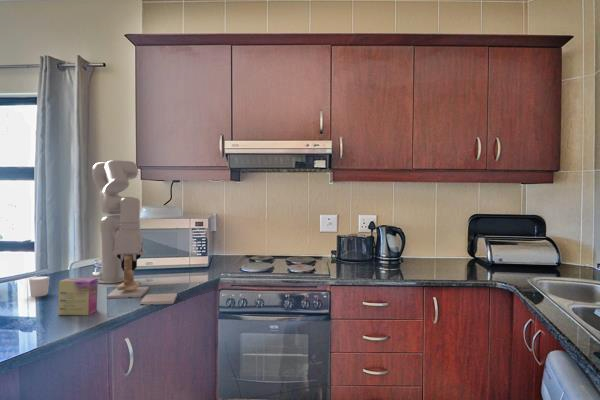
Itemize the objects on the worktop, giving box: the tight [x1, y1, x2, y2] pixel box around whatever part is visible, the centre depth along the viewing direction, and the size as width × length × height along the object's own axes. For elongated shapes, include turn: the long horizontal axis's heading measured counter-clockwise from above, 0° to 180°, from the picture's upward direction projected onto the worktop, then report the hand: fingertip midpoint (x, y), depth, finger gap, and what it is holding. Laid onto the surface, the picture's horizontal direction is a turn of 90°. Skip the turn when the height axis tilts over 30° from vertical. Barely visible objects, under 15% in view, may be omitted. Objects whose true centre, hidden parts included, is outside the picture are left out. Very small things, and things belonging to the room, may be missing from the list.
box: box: [57, 277, 99, 316], centre depth 124 cm, size 10×6×12 cm, turn 92°
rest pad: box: [106, 286, 150, 299], centre depth 150 cm, size 13×13×1 cm
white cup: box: [28, 275, 51, 298], centre depth 145 cm, size 7×7×7 cm
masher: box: [116, 254, 141, 290], centre depth 150 cm, size 7×7×14 cm
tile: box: [139, 292, 178, 306], centre depth 141 cm, size 2×10×12 cm
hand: (129, 269), depth 150 cm, fingers closed on masher, 3 cm apart
